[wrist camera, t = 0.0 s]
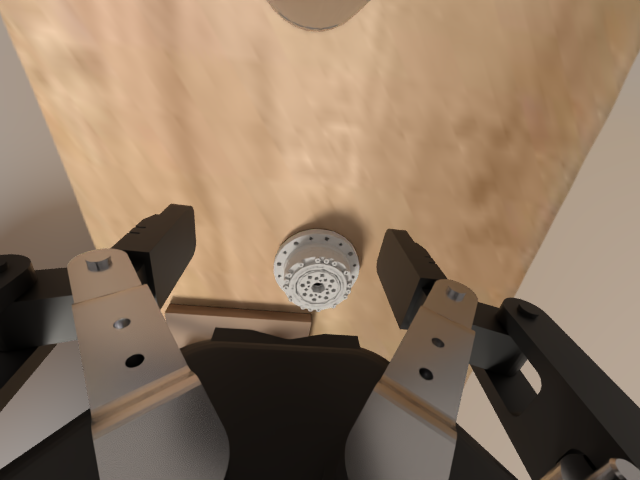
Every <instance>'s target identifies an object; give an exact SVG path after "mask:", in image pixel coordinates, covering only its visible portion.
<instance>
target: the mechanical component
mask: <svg viewBox="0 0 640 480" xmlns="http://www.w3.org/2000/svg"><path fill="white" fill-rule="evenodd" d="M359 268H360V267H359V261H358V256H357V253H356V251H355V249H354V247H353V245H352V244H351V243H350V242H349V241H348V240H347V239H346V238H345V237H343V236H341V235H340V234H338V233H336V232H334V231H329V230H323V229H310V230H306V231H302V232H299V233H297V234H295V235H293V236H291V237H290V238H288V239H287V240H286V241H285V242H284V243H283V244H282V245H281V246H280V247H279V250H278V252H277V254H276V256H275V262H274V275H275V279H276V282H277V283H278V285H279V286H280V288H281V289H282V290H283V291H284V292H285V293H286V295H287V297H288V298H289V301H290V302H293V303H294V304H296V305H297V306H300V307H301V309H302V310H304V309H308V311H310V312H311V311H313V310H316V311H317V312H320V311H321V310H323V309H327V308H335V307H336V305H337V304H339V303H340V302H342V301H343V300H345V299H347V298H348V297H347V295H348V294H349V293H351V287H352V285H353V284H354V283H355V281H356V279H357V277H358V273H359Z"/></svg>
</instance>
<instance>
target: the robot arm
mask: <svg viewBox="0 0 640 480" xmlns="http://www.w3.org/2000/svg"><path fill="white" fill-rule="evenodd" d="M267 1H268V2H269V4H270V5H271V7H272V8H273V9H274V10H275V11H276V12H277V13H278V14H279V15H280V16H281V17H282V18H283V19H284V20H286V21H287V22H289V23H291V24H292V25H294V26H295V27H298V28H301V29H304V30H307V31H325V30H330V29H334V28H336V27H338V26H340V25H342V24H344V23H345V22H347V21H348V20H349V19H350V18H352V17H353V16H354V15H355V14H356V13H357V12H358V11H359V10H360V9H362V8H363V7H364V6H365V5H366V4H367V3H368V2H369V1H370V0H267ZM195 247H196V235H195V219H194V210H193V207H192V206H186V205H177V204H170V205H169V206H168V207H167V208H166V209H165V210H164V211H163V212H162V213H161V214H160V215H157V214H155V215H153V216H150V217H148V218H145V219H143V220H142V221H141V222H140V223H139V224H137V225H136V228H135V227H134V228H133V229H132V230H131V231H130V232H129V233H127V234H126V235H125V236H124V237H123V238H122V239H121V240H119V241H118V242H117V243H116V244H115V245H114V246H113V247H112V248H110V249H97V250H92V251H88V252H85V253H82V254H80V255H78V256H76V257H74V258H73V259H72V260H71V261H70V262H69V263H68V265H67V268H58V269H57V268H56V269H45V270H34V268H33V266H32V263H31V261H30V259H29V258H28V257H25V256H22V255H13V254H8V255H0V412H1V411H2V409H3V408H4V407H5V406H6V405H7V403H8V402H9V401H10V400H11V399H12V397H13V396H14V395H15V394H16V393H17V391H18V390H19V389H20V388H21V387H22V385H23V384H24V383H25V382H26V381H27V379H28V378H29V377H30V376H31V375H32V373H33V372H34V371H35V370H36V369H37V368H38V366H39V365H40V364H41V363H42V362H43V360H44V359H45V358H46V357H47V356H48V354H49V353H50V352H51V351H52V350H53V348H54V347H55V346H56V345H57V343H60V342H67V341H72V340H78V345H79V350H80V356H81V361H82V367H83V372H84V378H85V383H86V389H87V394H88V400H89V405H90V409H88V410H86V411H85V412H83V413H82V414H81V415H79V416H78V417H76V418H75V419H73V420H72V421H70V422H69V423H68V424H66V425H65V426H63V427H62V428H60V429H59V430H57V431H56V432H54V433H53V434H51V435H50V436H48V437H47V438H45V439H44V440H43V441H41V442H40V443H38V444H37V445H35V446H34V447H32V448H31V449H29V450H28V451H27V452H25V453H24V454H22V455H21V456H19V457H18V458H16V459H15V460H13V461H12V462H10V463H9V464H8V465H6V466H5V467H3V468H2V469H0V480H518V479H517V478H516V477H515V476H514V475H513V474H511V473H510V472H509V471H508V470H507V469H506V468H505V467H504V466H503V465H502V464H501V463H499V462H498V461H497V460H496V459H495V458H494V457H493V456H492V455H491V454H490V453H489V452H488V451H487V450H485V449H484V448H483V447H482V446H481V445H480V444H479V443H478V442H477V441H476V440H475V439H473V438H472V437H471V436H470V435H469V434H468V433H467V432H466V431H465V430H464V429H463V428H462V427H460V426H459V425H458V424H457V423H456V419H457V414H458V410H459V405H460V401H461V396H462V392H463V387H464V383H465V378H466V374H467V369H468V365H469V364H470V365H471V367H472V369H473V371H474V373H475V375H476V376H477V378H478V380H479V382H480V384H481V386H482V388H483V389H484V391H485V393H486V395H487V397H488V399H489V401H490V403H491V404H492V406H493V408H494V410H495V412H496V414H497V416H498V418H499V419H500V421H501V423H502V425H503V427H504V429H505V430H506V432H507V434H508V436H509V438H510V440H511V442H512V444H513V445H514V447H515V449H516V451H517V453H518V455H519V457H520V459H521V460H522V462H523V464H524V466H525V468H526V470H527V472H528V474H529V475H530V477H531V479H532V480H640V408H639V407H638V406H637V405H636V404H635V403H634V402H633V401H632V400H631V399H630V398H629V397H628V396H627V395H626V394H625V393H624V392H623V391H622V390H621V389H620V388H619V387H618V386H617V385H616V384H615V383H614V382H613V381H612V380H611V379H610V378H609V377H608V376H607V375H606V373H605V372H603V371H602V370H601V369H600V367H599V366H598V365H597V364H596V363H595V362H594V361H593V360H592V359H591V358H590V357H589V356H588V355H587V354H586V353H585V352H584V351H583V350H582V349H581V348H580V347H579V346H578V345H577V344H576V343H575V342H574V341H573V340H572V339H571V338H570V337H569V336H568V335H567V334H566V333H565V332H564V331H563V330H562V329H561V328H560V327H559V326H558V325H557V324H556V323H555V322H554V321H553V320H552V319H551V318H550V317H549V316H548V315H547V314H546V313H545V312H544V311H543V310H541V309H540V308H538V307H537V306H535V305H533V304H531V303H529V302H526V301H524V300H521V299H517V298H506V299H505V300H504V301H503V303H502V304H501V306H500V308H497V307H493V306H490V305H487V304H483V303H480V302H478V298H477V296H476V294H475V293H474V292H473V291H472V290H471V289H470V288H468V287H467V286H465V285H463V284H461V283H459V282H456V281H453V280H449V279H447V278H446V276H445V275H444V273H443V272H442V271H441V269H440V268H439V267H438V265H437V264H435V261H434V260H433V259H432V258H431V256H430V255H429V253H428V252H427V251H426V249H424V248H423V247H422V246H420V245H419V244H417V243H415V242H414V241H413V240H412V238H411V237H410V235H409V234H408V232H407V231H405V230H396V229H388V230H387V231H386V233H385V236H384V239H383V243H382V246H381V249H380V253H379V256H378V260H377V273H378V276H379V279H380V281H381V283H382V286H383V288H384V291H385V293H386V296H387V298H388V301H389V303H390V306H391V308H392V311H393V313H394V316H395V318H396V321H397V323H398V326H399V328H400V329H406V330H407V332H406V334H405V336H404V337H403V339H402V341H401V343H400V345H399V347H398V348H397V350H396V352H395V354H394V356H393V358H392V359H391V361H390V362H389V361H388V360H386V359H385V358H383V357H381V356H380V355H378V354H376V353H374V352H372V351H369V350H367V349H364V348H361V347H360V345H359V340H358V336H348V335H332V334H321V335H315V336H308V337H302V338H295V339H285V338H281V337H277V336H274V335H270V334H266V333H263V332H259V331H255V330H250V329H234V328H218V327H215V330H214V332H213V335H212V338H211V339H207V340H202V341H198V342H195V343H192V344H189V345H186V346H184V347H182V348H180V349H179V347H178V345H177V343H176V341H175V339H174V337H173V335H172V333H171V331H170V329H169V327H168V325H167V323H166V321H165V319H164V317H163V315H162V313H161V311H160V309H161V308H162V306H163V305H164V303H165V301H166V300H167V298H168V296H169V295H170V293H171V291H172V290H173V288H174V286H175V285H176V283H177V282H178V280H179V278H180V277H181V275H182V273H183V272H184V270H185V268H186V267H187V265H188V264H189V262H190V260H191V259H192V257H193V255H194V252H195ZM527 359H528V360H529V362H530V363H531V364H532V365H533V367H534V368H535V369H536V371H537V372H538V374H539V376H540V378H541V384H542V387H541V390H540V392H539V394H538V395H537V394H536V392H535V391H534V389H533V388H532V386H531V385H530V383H529V382H528V381H527V379H526V378H525V376H524V375H523V374H522V372H521V371H520V369H521V367H522V366H523V365H524V363H525V362H526V361H527Z"/></svg>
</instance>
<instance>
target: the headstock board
mask: <svg viewBox="0 0 640 480" xmlns="http://www.w3.org/2000/svg"><path fill="white" fill-rule="evenodd" d="M165 317H166V323H167V325H168V327H169V329H170V331H171V333H172V335H173V337H174V339H175V341H176V343H177V345H178V347H179V349H180V348H182V347H184V346H186V345H189V344H192V343H195V342H198V341H202V340H207V339H211V338H212V335H213V332H214V330H215V327H218V328H234V329H250V330H255V331H259V332H263V333H266V334H270V335H274V336H277V337H281V338H285V339H295V338H302V337H308V336H309V332H310V327H311V314H304V313H290V312H275V311H261V310H247V309H233V308H219V307H205V306H190V305H176V304H169V306H168V308H167V310H166V311H165Z"/></svg>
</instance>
